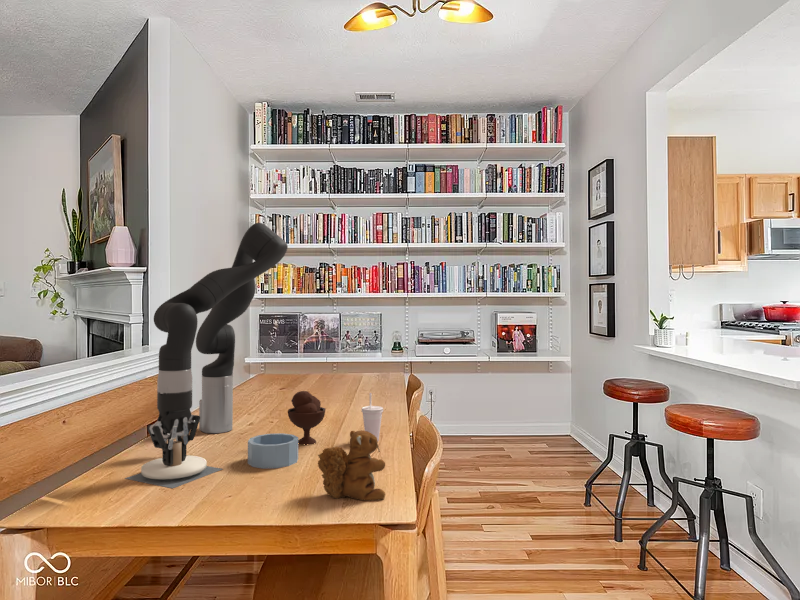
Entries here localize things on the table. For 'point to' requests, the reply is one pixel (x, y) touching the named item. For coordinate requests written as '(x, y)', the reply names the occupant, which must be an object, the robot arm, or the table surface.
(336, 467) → the stuffed squirrel
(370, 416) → the smoothie
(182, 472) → the lid
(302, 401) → the ice cream bowl
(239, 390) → the table surface
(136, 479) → the mat
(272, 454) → the bowl
